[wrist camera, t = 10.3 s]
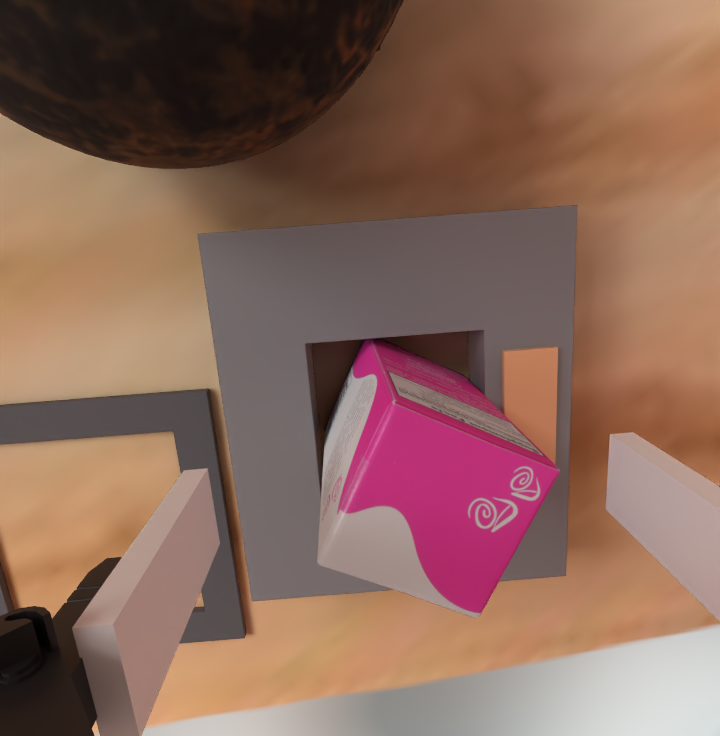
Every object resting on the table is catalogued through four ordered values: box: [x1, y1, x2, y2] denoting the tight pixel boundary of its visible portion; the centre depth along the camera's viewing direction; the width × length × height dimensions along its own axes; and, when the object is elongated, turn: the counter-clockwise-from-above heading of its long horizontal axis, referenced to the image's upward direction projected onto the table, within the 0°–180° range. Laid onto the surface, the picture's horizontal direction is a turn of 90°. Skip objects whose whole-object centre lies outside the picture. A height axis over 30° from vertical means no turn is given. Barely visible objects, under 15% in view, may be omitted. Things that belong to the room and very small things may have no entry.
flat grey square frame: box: [0, 389, 246, 643], centre depth 26 cm, size 15×15×1 cm
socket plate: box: [198, 205, 577, 601], centre depth 24 cm, size 18×16×3 cm
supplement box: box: [317, 338, 560, 618], centre depth 20 cm, size 6×6×12 cm
